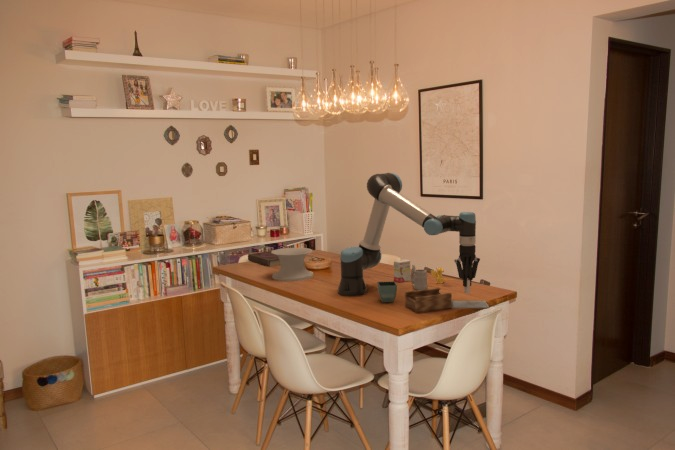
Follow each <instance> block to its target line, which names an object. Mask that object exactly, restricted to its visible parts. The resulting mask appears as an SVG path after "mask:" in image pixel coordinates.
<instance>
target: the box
mask: <svg viewBox="0 0 675 450" xmlns="http://www.w3.org/2000/svg"><path fill="white" fill-rule="evenodd" d="M440 290H441V288H439V287H435V288H427V289H425V290H416V289H415V290H407V291H404V296H405V297H404V304H405V305H404V306H405V307H406V308H407V309H409V310H410V311H412V312H414V313H415V314H421V313H422V314H423V313H429V312H430V313H431V312H437V311H444V310H445V311H447V310H452V309H453V308H452V301H453V298H452V295H453V294H452V293H451V292H448V293H441V292H440Z"/></svg>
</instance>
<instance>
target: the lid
mask: <svg viewBox="0 0 675 450" xmlns="http://www.w3.org/2000/svg"><path fill="white" fill-rule="evenodd" d="M452 309H490V306H489V304H488V303H487V301H486V300H452Z"/></svg>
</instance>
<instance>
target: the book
mask: <svg viewBox="0 0 675 450" xmlns="http://www.w3.org/2000/svg"><path fill="white" fill-rule="evenodd" d="M272 251H273V250H266V251H260V252H253V253H248V254H247V260H248V261H250V262H253V263H256V264H259V265H263V266H265V267H269V268H270V267H276V266H281V262H280V259H279V257H278V256H277V255H275V254H273V253H271V252H272Z"/></svg>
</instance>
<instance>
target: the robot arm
mask: <svg viewBox="0 0 675 450" xmlns="http://www.w3.org/2000/svg"><path fill="white" fill-rule="evenodd" d="M402 189H403V182H402V179H401V178H400V176H399V175H398V174H396V173H394V172H385V173H375V174H373V175H371V176H370V177H369V178H368V179H367V182H366V190H367V192H368V194H369V195H370V196H371V197H372V198H374V200H373V201H374V202H373V205H372V208H371V212H370V215H369V219H368V222H367V226H366V229H365V233H364V237H363V239H362V240H361V241H359V244H358V246H351V247H346V248H343V249H342V250H341V251H340V282H339V284H338V287H337V292H338V294H339V295H341V296H348V297H357V296H361V295H362V296H363V295H365V294H367V293H368V289H367V285H366V283H365V280H364V271H365V270H369V269H373V268H374V267H376V266H378V264H379V263H380V262H381V260H382V252H381V245H380V242H381V241H380V240H381V238H382V234H383V231H384V227H385V224H386V220H387V216H388V213H389V211H390V210H389V209H390V207H391V208H392V209H394V210H395V211H397V212H399V213H400V214H402V215H404V216H405V217H407V218H408V219H409V220H411V221H413V222H414V223H415V224H417V225H419V226H420V227H421V228H423V230H424V232H425V234H426V235H429V236H438V235H441V234H444V233H447V232H458V234H459V235H458V236H459V237H458V239H459V241H458V243H459V250H458V251H459V254H458V255H459V256H458V258H457V259H454V260H453V261H454V263H455V265H456V269H457V275H458V278H459V279H460V280H462V286H463V288H464V289H463V293H464V294H466V295H468V294H471V286H472V281H473V280H474V279H475V278H476V276H477V271H478V266H479V263H480V261H481V258H480V257H477V255H476V236H477V235H476V228H477V226H476V225H477V220H476V214H475V213H476V212H474V211H473V212H472V211H461V212H459V215H446V214H442V215H437V216H436V215H433V214H432V213H431V212H430V211H428V210H426V209H425V208H423V207H422V206H420V205H418V204H417V203H415V202H414V201H412V200H410V199H409V198H407V197H406V196H404V195H403V194H402V193H400V192H401V191H402Z"/></svg>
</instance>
